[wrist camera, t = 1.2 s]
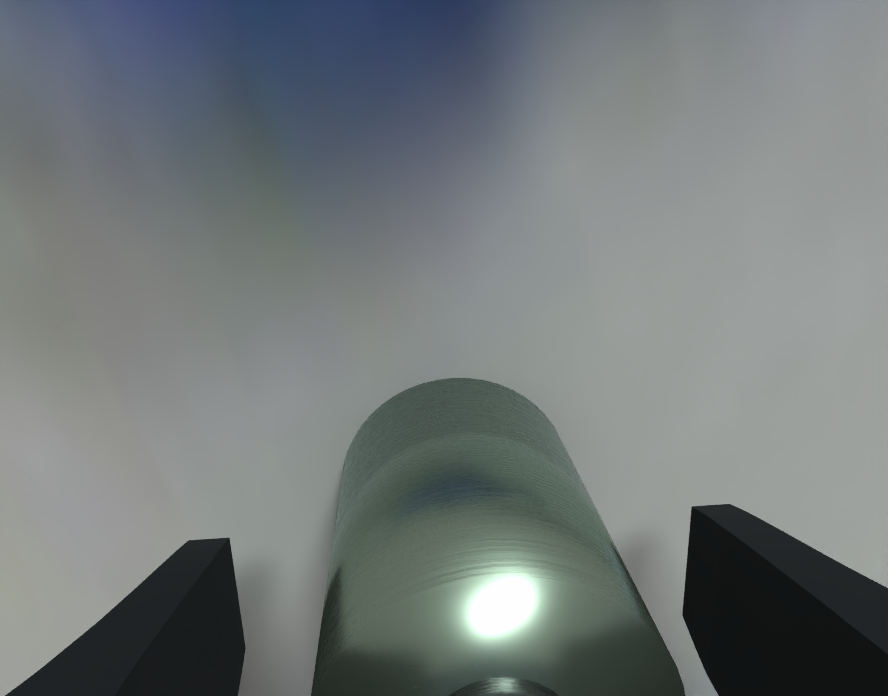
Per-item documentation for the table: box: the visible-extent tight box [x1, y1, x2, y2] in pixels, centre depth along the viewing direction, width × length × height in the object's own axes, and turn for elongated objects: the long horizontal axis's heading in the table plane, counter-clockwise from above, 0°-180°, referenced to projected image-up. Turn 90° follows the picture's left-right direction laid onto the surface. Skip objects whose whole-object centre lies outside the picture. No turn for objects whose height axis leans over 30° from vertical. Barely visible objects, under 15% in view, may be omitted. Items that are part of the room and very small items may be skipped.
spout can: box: [311, 378, 685, 696], centre depth 11 cm, size 4×6×7 cm
